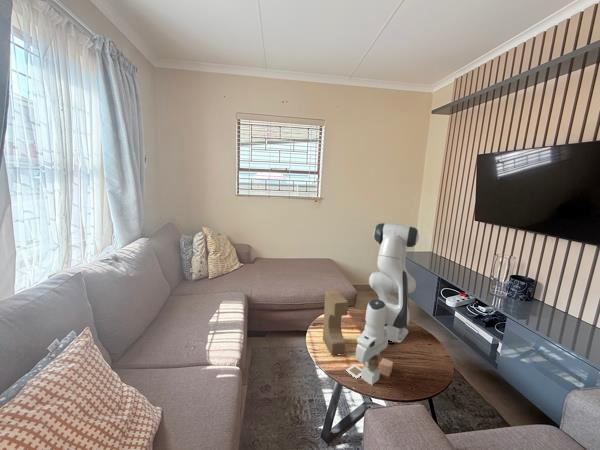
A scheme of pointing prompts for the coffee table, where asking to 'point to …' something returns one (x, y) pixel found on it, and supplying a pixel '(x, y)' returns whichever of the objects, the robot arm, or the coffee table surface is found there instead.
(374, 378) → the base block
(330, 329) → the decorative block
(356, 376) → the card
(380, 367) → the terracotta cube
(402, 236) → the robot arm
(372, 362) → the walnut cube
